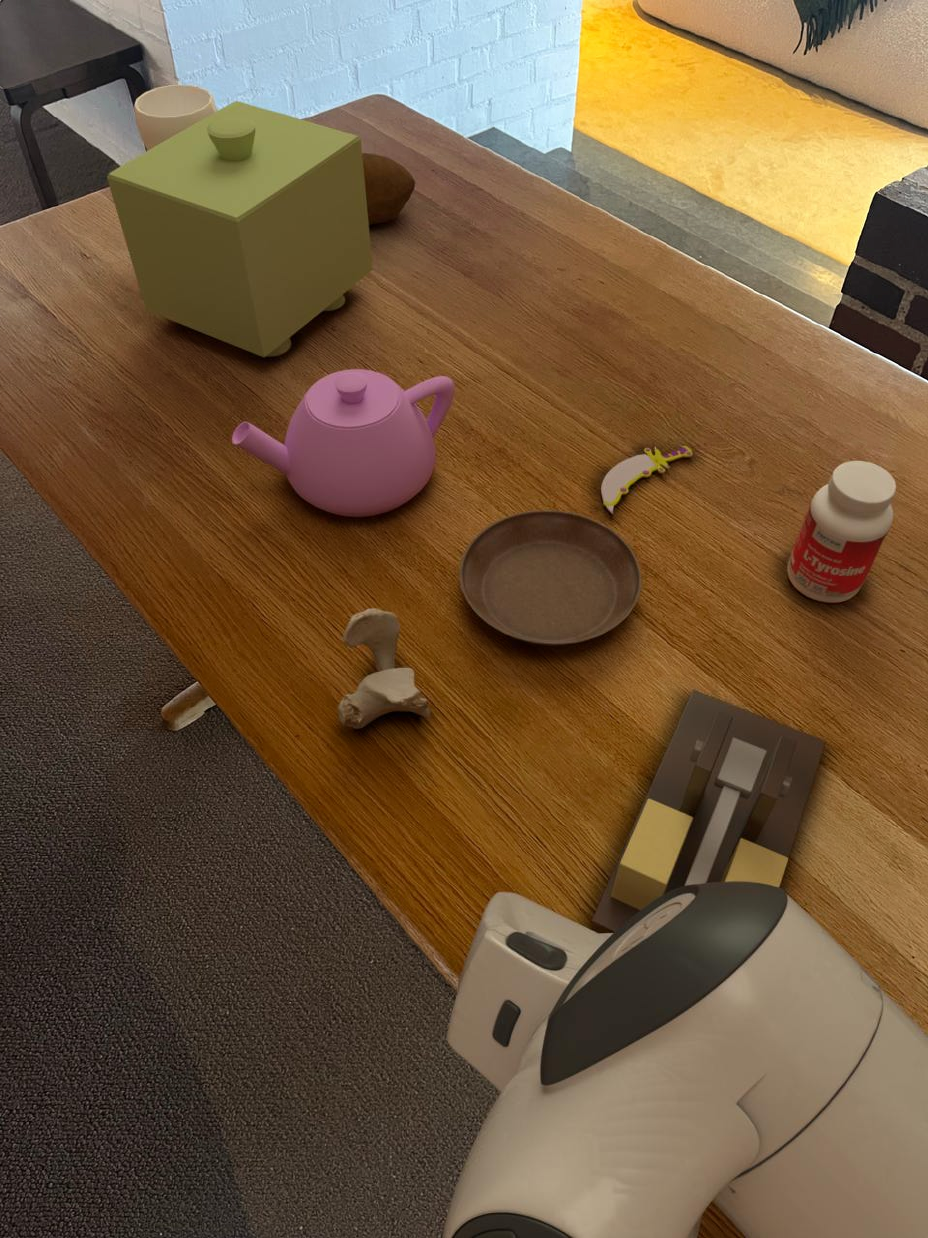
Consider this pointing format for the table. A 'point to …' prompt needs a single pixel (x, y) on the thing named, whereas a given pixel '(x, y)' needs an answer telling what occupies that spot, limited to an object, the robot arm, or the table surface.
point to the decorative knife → (635, 473)
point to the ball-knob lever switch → (727, 802)
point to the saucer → (550, 577)
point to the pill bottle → (842, 532)
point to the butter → (660, 849)
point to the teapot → (356, 442)
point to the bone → (379, 672)
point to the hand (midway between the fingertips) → (665, 958)
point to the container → (246, 224)
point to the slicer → (692, 789)
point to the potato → (385, 187)
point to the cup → (170, 111)
